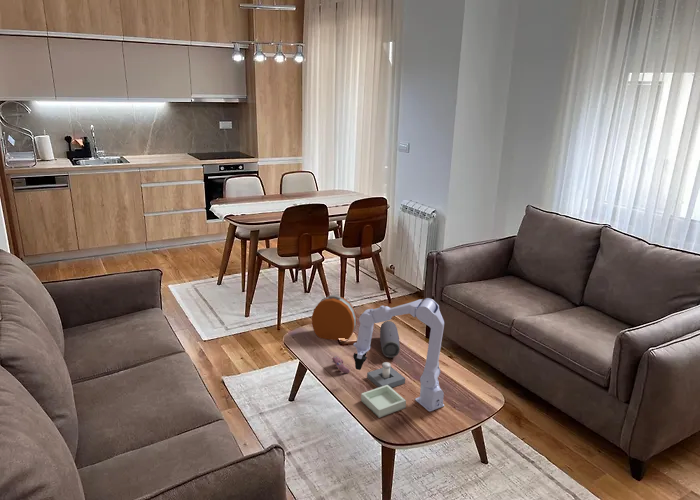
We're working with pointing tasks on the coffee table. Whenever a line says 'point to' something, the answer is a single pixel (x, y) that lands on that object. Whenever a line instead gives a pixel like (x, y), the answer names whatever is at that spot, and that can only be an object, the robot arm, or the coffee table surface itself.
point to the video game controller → (340, 364)
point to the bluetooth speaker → (389, 339)
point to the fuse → (386, 370)
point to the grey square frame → (392, 381)
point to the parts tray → (383, 401)
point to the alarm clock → (334, 318)
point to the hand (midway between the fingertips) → (359, 364)
